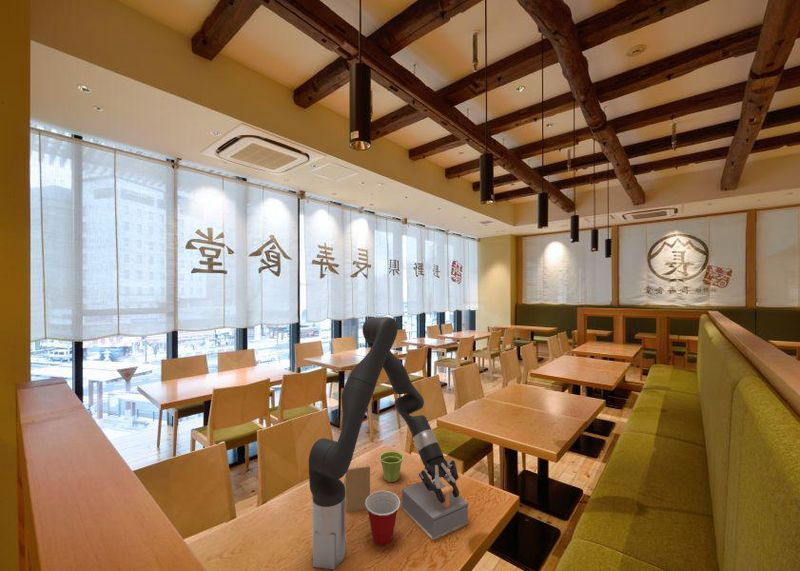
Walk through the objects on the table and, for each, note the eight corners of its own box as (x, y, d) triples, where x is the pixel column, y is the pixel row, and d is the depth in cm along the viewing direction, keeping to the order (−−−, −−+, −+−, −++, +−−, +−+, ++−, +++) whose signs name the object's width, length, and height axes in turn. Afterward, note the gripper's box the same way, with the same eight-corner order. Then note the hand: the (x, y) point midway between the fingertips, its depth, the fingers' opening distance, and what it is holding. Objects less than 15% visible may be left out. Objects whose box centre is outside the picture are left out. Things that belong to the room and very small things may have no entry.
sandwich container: (364, 484, 141) (364, 446, 141) (370, 508, 126) (370, 466, 126) (341, 487, 139) (341, 449, 139) (345, 512, 124) (345, 469, 124)
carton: (467, 524, 118) (467, 506, 118) (433, 540, 111) (433, 521, 110) (434, 496, 133) (434, 480, 133) (402, 508, 126) (402, 491, 126)
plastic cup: (368, 555, 105) (368, 514, 104) (362, 530, 115) (362, 493, 115) (404, 548, 107) (404, 508, 107) (395, 524, 118) (395, 488, 118)
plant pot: (402, 485, 140) (402, 463, 140) (378, 484, 141) (378, 462, 141) (403, 472, 150) (403, 451, 150) (380, 471, 150) (380, 451, 150)
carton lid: (468, 505, 118) (468, 483, 118) (432, 520, 110) (432, 497, 110) (434, 479, 133) (434, 460, 133) (401, 491, 126) (401, 471, 126)
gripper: (415, 447, 118) (437, 502, 108) (449, 437, 126) (473, 488, 116) (406, 456, 123) (427, 510, 113) (439, 446, 130) (461, 496, 120)
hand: (450, 499), depth 114 cm, fingers closed on carton lid, 5 cm apart
